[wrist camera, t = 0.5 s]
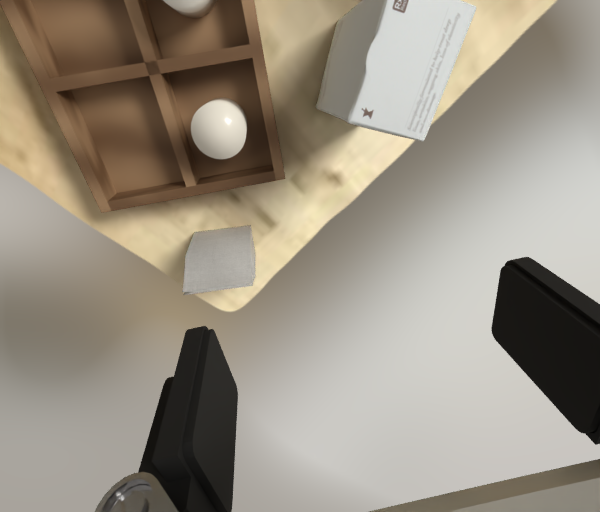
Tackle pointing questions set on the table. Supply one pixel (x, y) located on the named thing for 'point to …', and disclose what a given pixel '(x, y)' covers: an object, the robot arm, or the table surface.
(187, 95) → the rack
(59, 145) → the table surface
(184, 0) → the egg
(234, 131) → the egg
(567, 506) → the robot arm
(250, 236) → the milk carton
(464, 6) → the skincare box
